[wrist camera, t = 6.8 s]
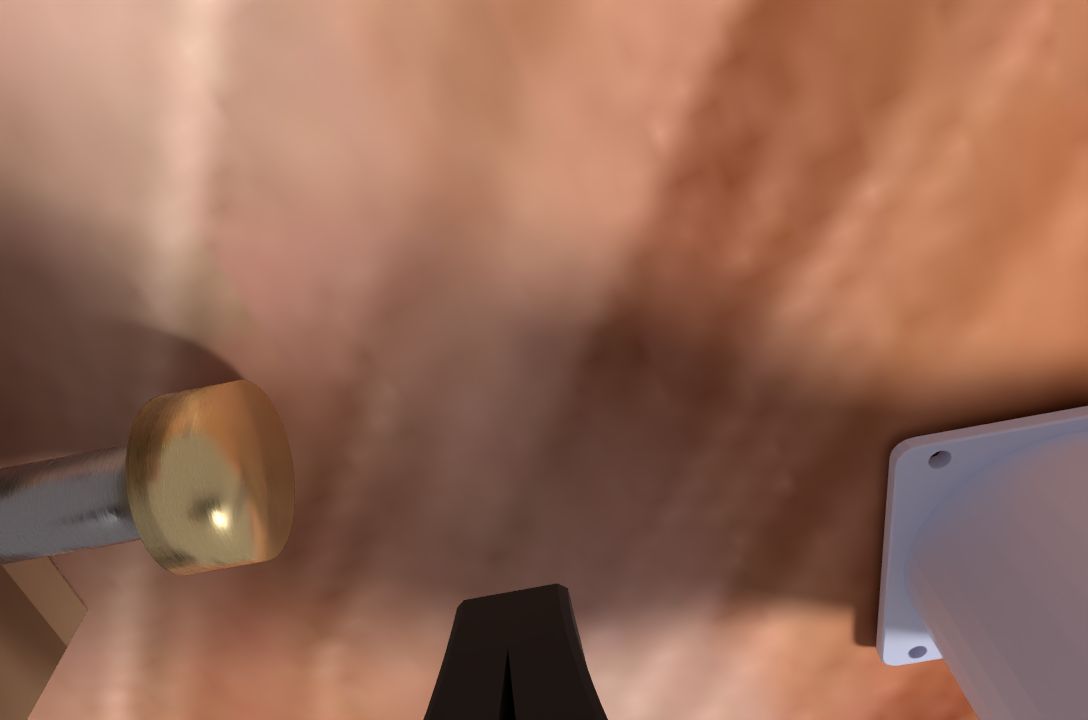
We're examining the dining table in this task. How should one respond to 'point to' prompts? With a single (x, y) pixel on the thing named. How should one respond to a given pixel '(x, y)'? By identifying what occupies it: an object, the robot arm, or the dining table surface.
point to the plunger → (164, 487)
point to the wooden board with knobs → (32, 631)
